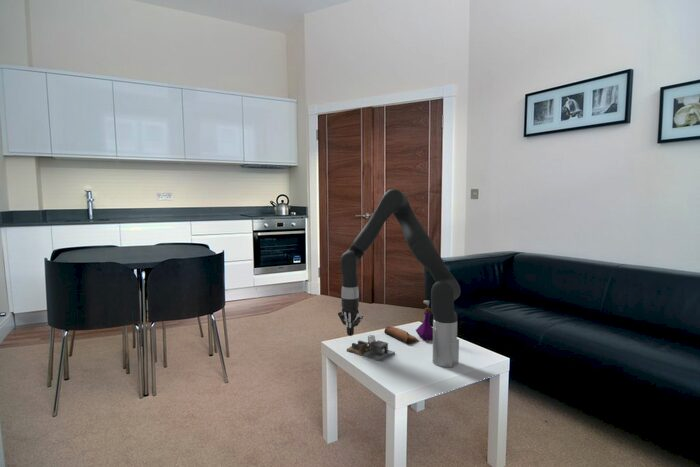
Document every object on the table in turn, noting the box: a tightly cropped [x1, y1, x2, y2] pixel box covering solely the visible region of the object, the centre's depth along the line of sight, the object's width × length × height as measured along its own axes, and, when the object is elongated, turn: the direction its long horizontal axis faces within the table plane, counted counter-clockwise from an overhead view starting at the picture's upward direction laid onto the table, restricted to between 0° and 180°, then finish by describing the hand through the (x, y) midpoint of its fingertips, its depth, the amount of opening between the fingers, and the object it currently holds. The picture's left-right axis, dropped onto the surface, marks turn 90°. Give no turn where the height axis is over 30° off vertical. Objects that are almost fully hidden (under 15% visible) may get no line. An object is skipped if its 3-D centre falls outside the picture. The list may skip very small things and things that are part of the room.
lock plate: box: [346, 339, 396, 362], centre depth 166 cm, size 18×10×5 cm, turn 51°
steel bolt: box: [366, 334, 385, 354], centre depth 164 cm, size 8×3×6 cm, turn 51°
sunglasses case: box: [384, 326, 421, 345], centre depth 185 cm, size 18×7×7 cm, turn 30°
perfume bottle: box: [415, 300, 433, 341], centre depth 182 cm, size 8×8×18 cm
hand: (350, 335), depth 173 cm, fingers closed
